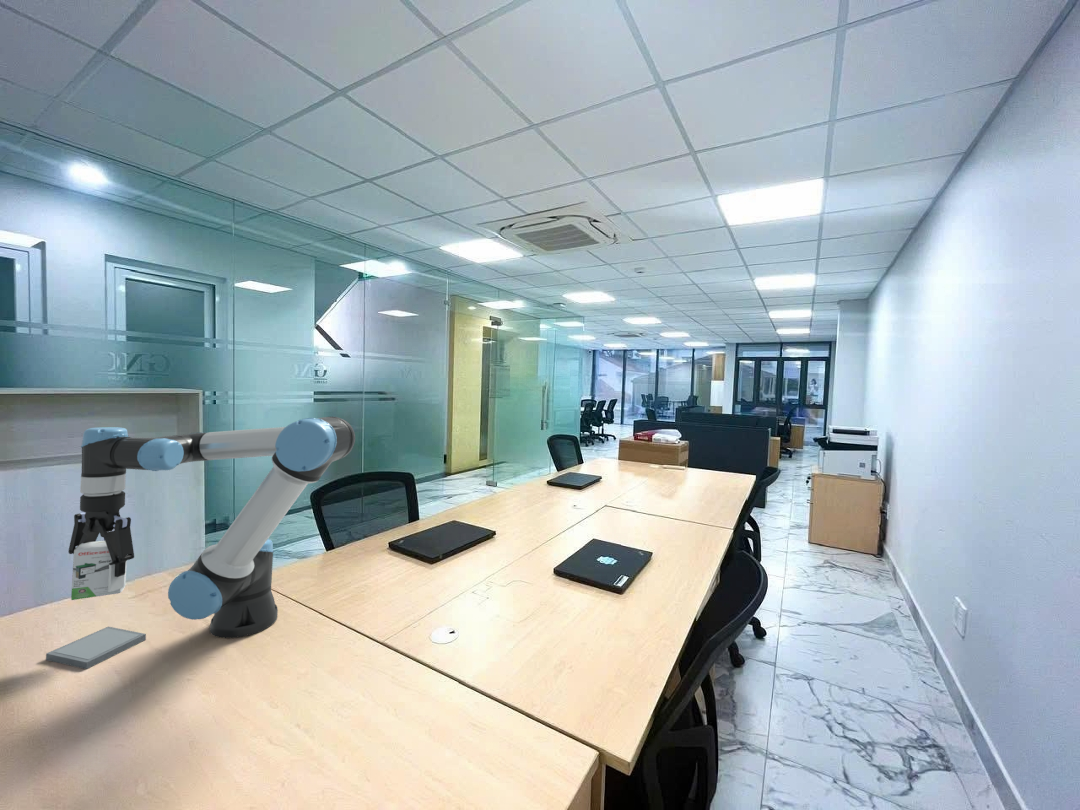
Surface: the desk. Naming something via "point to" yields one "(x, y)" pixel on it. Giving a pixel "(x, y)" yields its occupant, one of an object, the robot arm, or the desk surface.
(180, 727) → the desk surface
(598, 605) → the desk surface
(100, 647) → the slate pad
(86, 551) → the ink box
